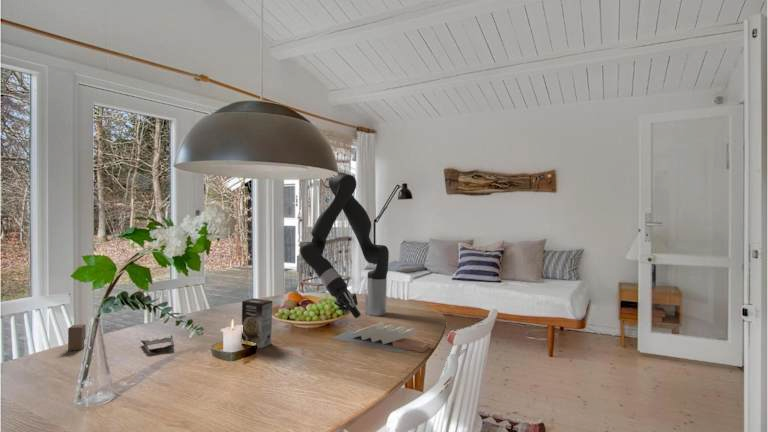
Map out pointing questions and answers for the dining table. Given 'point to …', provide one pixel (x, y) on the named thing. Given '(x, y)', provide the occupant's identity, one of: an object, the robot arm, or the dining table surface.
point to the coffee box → (257, 321)
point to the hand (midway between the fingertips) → (358, 316)
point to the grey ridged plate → (367, 341)
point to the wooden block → (76, 337)
